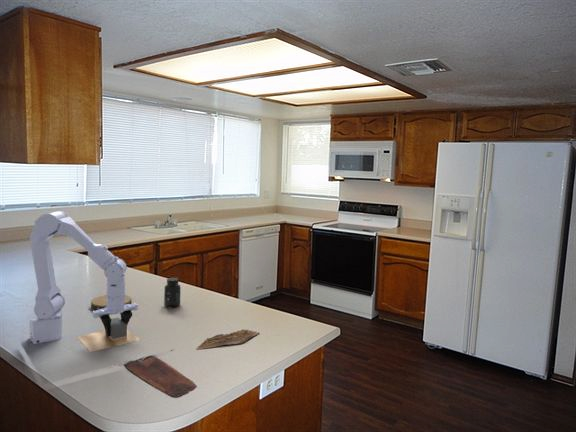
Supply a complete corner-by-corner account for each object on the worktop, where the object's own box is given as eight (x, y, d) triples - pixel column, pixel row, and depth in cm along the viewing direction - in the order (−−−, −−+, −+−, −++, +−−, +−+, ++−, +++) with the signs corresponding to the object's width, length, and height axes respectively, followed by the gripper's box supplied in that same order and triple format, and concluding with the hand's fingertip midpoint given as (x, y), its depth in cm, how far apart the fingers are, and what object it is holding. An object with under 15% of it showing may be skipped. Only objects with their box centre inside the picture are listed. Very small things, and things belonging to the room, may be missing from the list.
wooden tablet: (202, 383, 117) (171, 392, 110) (201, 391, 117) (170, 400, 110) (152, 353, 135) (123, 359, 127) (151, 360, 135) (122, 366, 127)
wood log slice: (106, 299, 189) (106, 292, 189) (138, 303, 186) (138, 296, 185) (82, 310, 174) (82, 303, 173) (117, 314, 170) (117, 307, 170)
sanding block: (113, 341, 140) (113, 327, 139) (105, 333, 146) (105, 320, 145) (126, 338, 143) (126, 324, 142) (118, 330, 149) (118, 317, 148)
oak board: (90, 356, 132) (90, 351, 132) (76, 340, 143) (76, 336, 143) (140, 344, 143) (140, 339, 143) (123, 330, 154) (123, 326, 154)
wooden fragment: (250, 328, 162) (250, 326, 162) (266, 339, 153) (266, 336, 153) (188, 343, 146) (188, 340, 146) (201, 355, 138) (201, 352, 138)
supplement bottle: (160, 306, 182) (161, 279, 181) (171, 302, 188) (172, 276, 187) (172, 309, 179) (173, 282, 177) (183, 305, 185) (184, 278, 184)
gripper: (97, 302, 135) (97, 342, 137) (141, 294, 145) (141, 332, 146) (90, 296, 140) (90, 335, 142) (133, 289, 150) (133, 326, 152)
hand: (115, 333), depth 144 cm, fingers closed on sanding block, 4 cm apart
